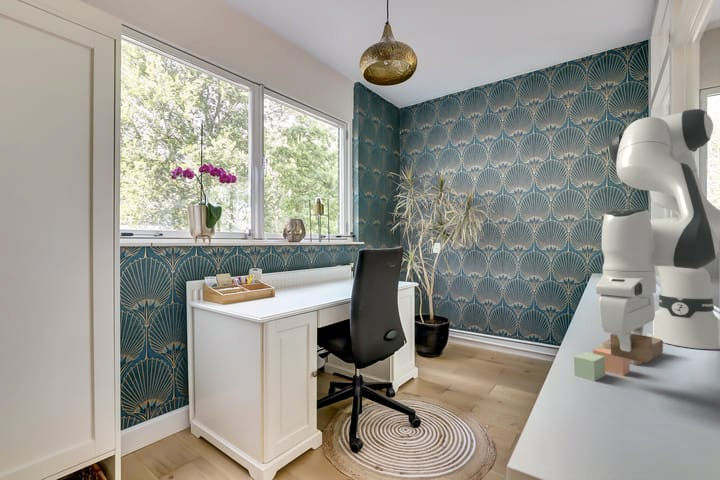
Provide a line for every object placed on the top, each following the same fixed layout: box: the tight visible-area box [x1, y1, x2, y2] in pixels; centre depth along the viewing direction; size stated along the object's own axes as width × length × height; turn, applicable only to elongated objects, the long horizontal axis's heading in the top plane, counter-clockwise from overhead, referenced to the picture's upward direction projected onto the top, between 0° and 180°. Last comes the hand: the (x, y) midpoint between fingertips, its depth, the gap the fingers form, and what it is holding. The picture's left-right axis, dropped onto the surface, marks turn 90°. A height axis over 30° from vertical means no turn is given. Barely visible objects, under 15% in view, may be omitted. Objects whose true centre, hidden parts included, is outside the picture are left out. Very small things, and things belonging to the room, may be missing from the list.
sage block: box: [573, 351, 606, 382], centre depth 77 cm, size 6×4×4 cm, turn 124°
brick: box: [601, 337, 664, 366], centre depth 90 cm, size 17×8×5 cm, turn 120°
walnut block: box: [609, 333, 654, 363], centre depth 71 cm, size 6×4×4 cm, turn 35°
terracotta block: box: [592, 346, 630, 377], centre depth 80 cm, size 6×4×4 cm, turn 34°
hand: (631, 347), depth 71 cm, fingers closed on walnut block, 4 cm apart
